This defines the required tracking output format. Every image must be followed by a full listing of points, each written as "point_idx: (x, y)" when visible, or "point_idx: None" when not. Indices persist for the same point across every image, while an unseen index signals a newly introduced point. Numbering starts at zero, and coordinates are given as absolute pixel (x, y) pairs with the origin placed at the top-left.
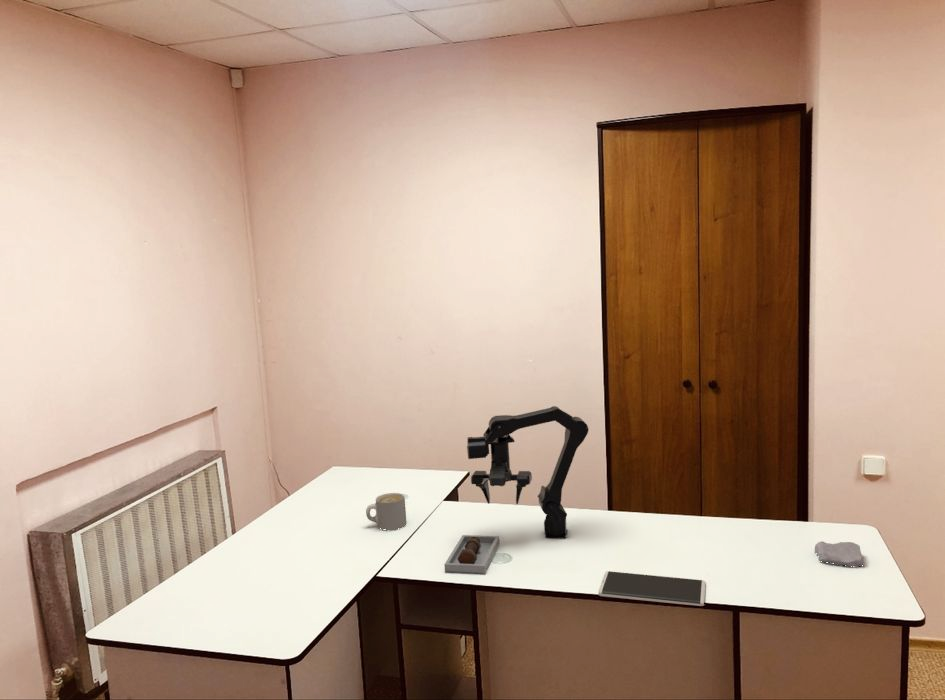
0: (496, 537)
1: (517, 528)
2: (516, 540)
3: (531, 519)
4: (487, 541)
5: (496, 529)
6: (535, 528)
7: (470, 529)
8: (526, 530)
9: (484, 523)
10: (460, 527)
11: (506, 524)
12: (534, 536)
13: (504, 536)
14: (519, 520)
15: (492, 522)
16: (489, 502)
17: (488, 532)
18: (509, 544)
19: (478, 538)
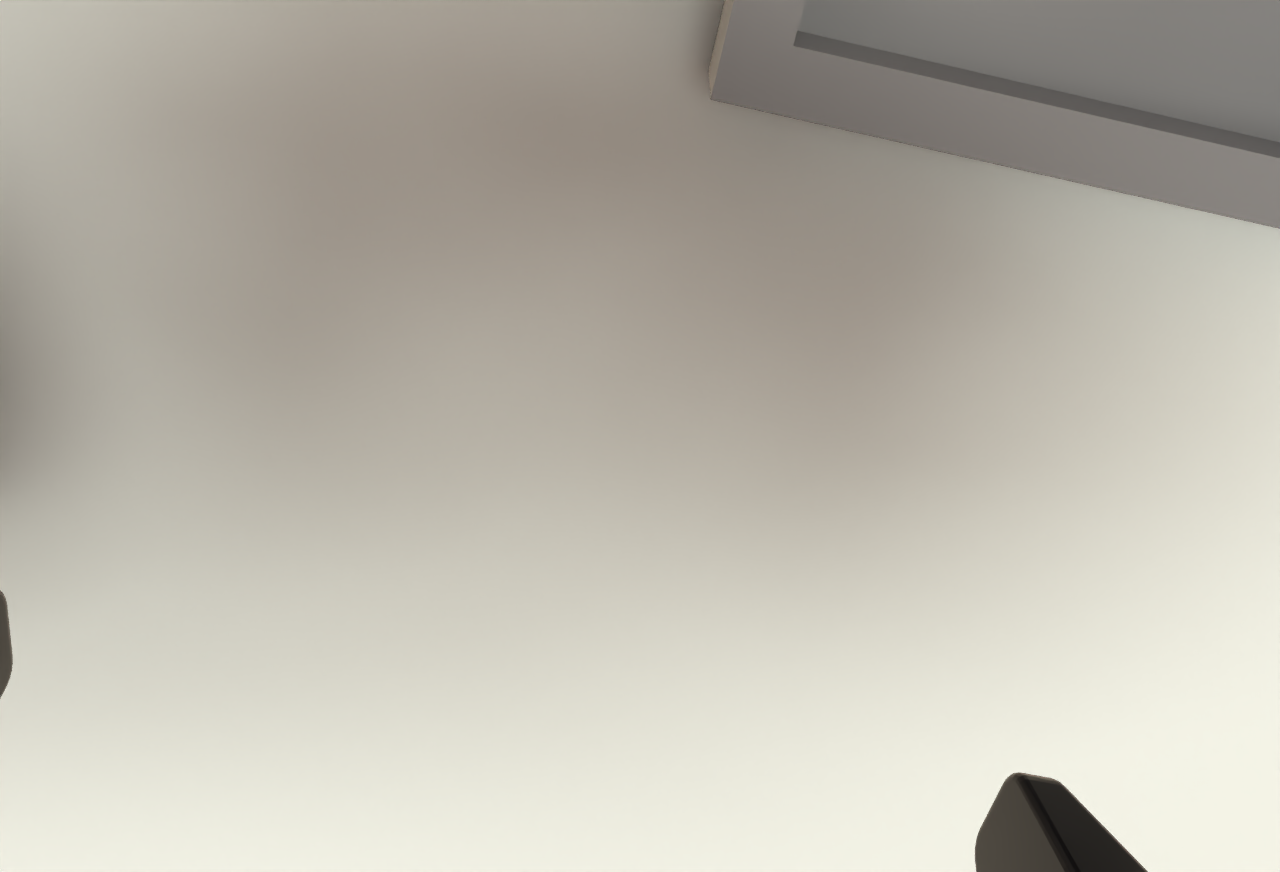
0: (773, 38)
1: (424, 622)
2: (409, 187)
3: (261, 843)
4: (948, 67)
5: (732, 631)
6: (161, 589)
7: (1113, 680)
8: (284, 542)
9: (883, 821)
10: (1241, 756)
11: (585, 757)
12: (125, 313)
13: (616, 376)
14: (414, 838)
15: (773, 833)
16: (999, 824)
17: (860, 551)
18: (527, 18)
19: (1138, 122)
